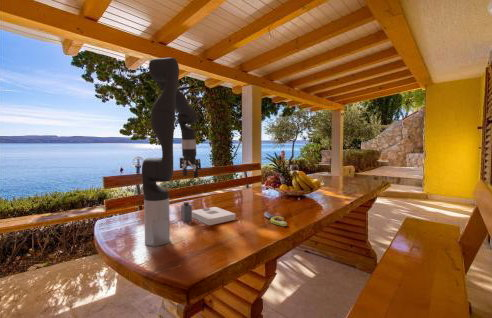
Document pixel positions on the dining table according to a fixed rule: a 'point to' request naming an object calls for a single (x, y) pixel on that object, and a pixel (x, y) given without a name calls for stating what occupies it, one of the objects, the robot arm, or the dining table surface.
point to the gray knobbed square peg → (186, 212)
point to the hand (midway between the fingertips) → (190, 176)
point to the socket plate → (213, 215)
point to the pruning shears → (276, 219)
